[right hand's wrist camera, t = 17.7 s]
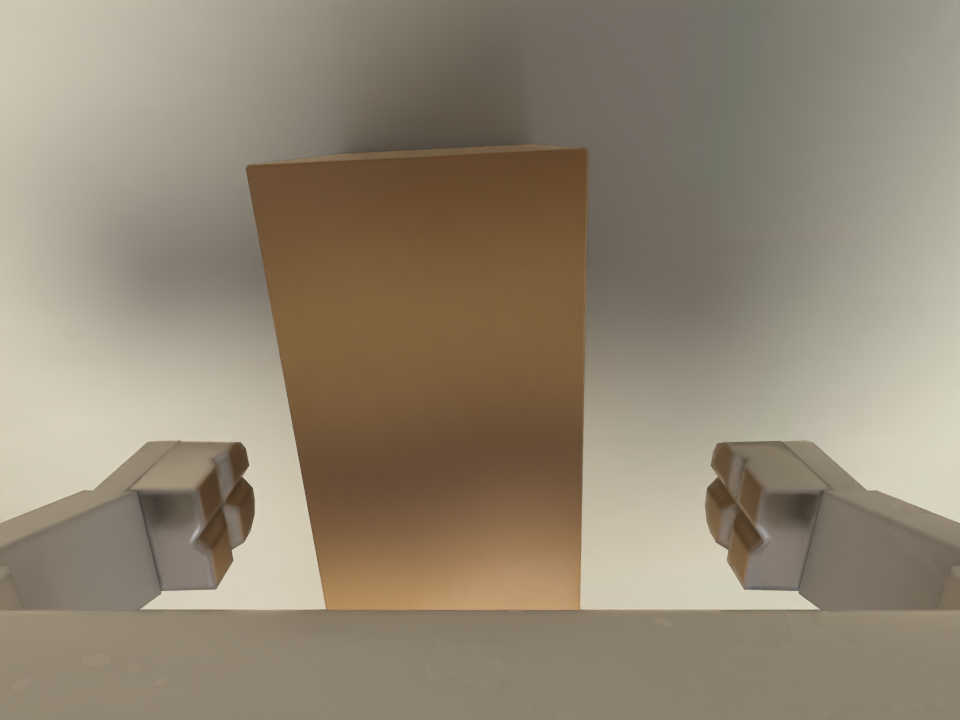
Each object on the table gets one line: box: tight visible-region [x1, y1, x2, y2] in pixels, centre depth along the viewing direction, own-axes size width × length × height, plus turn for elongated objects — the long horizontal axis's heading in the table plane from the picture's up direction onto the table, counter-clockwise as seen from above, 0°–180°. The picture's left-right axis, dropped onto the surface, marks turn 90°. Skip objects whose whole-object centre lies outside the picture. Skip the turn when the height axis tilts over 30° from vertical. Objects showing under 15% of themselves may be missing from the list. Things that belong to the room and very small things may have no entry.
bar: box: [246, 144, 589, 610], centre depth 18 cm, size 28×6×8 cm, turn 3°
